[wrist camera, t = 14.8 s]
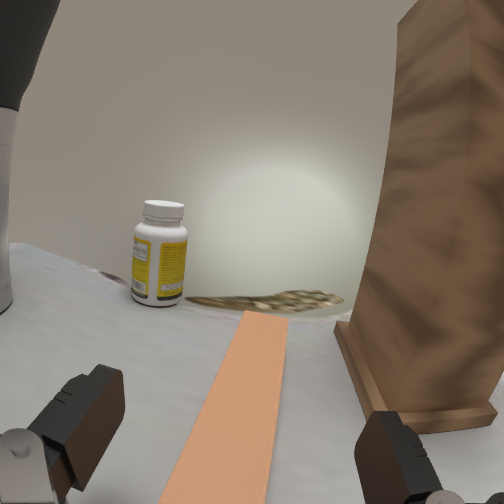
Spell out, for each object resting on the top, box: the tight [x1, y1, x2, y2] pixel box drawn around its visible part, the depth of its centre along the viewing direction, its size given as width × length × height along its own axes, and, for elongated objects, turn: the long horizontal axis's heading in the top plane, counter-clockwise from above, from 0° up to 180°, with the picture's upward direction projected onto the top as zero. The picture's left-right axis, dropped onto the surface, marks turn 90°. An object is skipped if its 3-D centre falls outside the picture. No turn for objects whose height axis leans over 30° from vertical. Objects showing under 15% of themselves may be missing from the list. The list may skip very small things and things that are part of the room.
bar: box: [158, 310, 289, 504], centre depth 15 cm, size 4×22×4 cm, turn 172°
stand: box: [334, 0, 504, 434], centre depth 19 cm, size 11×15×34 cm
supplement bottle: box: [131, 200, 188, 306], centre depth 31 cm, size 5×5×10 cm
